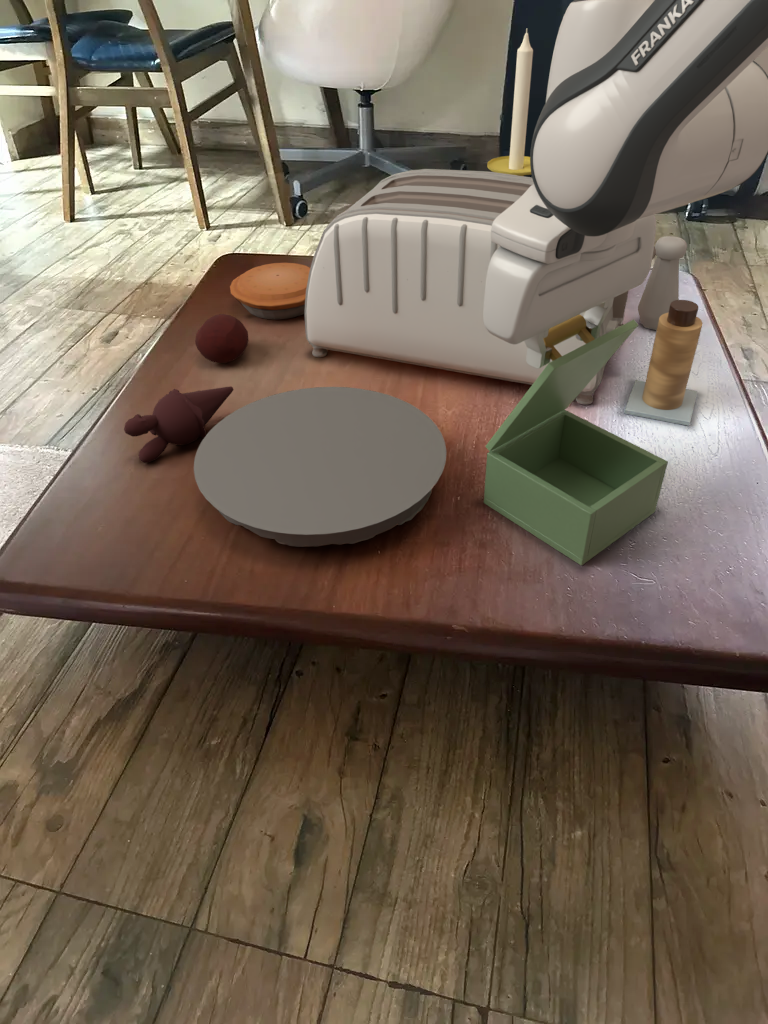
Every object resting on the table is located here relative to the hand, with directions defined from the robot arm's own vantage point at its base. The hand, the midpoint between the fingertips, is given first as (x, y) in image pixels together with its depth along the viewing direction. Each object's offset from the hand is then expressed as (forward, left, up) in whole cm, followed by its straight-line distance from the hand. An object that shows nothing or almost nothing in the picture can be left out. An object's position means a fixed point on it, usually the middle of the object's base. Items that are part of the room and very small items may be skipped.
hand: (562, 351), depth 76 cm
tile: (-9, -24, -18) cm, 31 cm away
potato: (+51, -14, -18) cm, 56 cm away
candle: (+19, -48, -18) cm, 55 cm away
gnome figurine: (+44, +6, -18) cm, 48 cm away
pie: (+52, -32, -18) cm, 64 cm away
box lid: (0, 0, -4) cm, 4 cm away
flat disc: (+24, +8, -18) cm, 31 cm away
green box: (-3, +2, -18) cm, 18 cm away
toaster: (+18, -28, -18) cm, 38 cm away
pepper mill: (-9, -24, -17) cm, 31 cm away
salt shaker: (-5, -46, -18) cm, 50 cm away
